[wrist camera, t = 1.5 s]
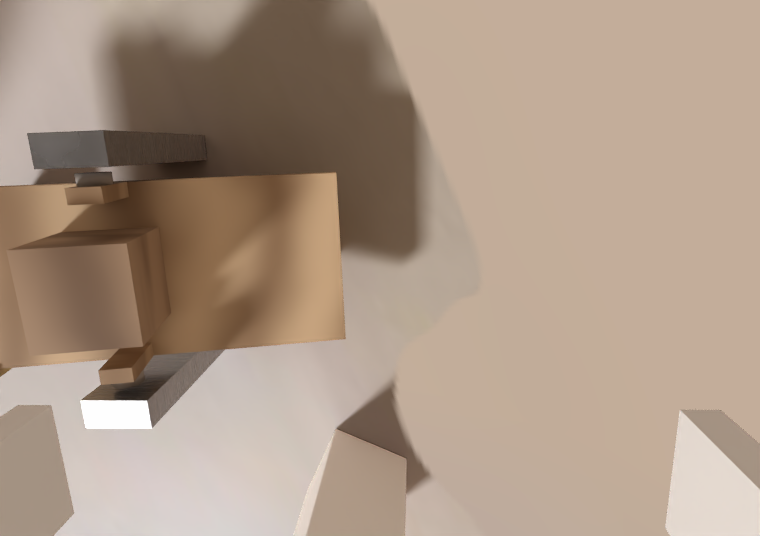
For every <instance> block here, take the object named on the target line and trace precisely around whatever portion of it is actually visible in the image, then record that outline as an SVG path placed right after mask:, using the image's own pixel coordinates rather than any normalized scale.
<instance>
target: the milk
mask: <svg viewBox="0 0 760 536" xmlns="http://www.w3.org/2000/svg"><path fill="white" fill-rule="evenodd" d="M406 470H407V459H406V458H404V457H402V456H399V455H397V454H395V453H392V452H390V451H387V450H385V449H383V448H380V447H378V446H376V445H373V444H371V443H369V442H366V441H364V440H361V439H359V438H357V437H354V436H352V435H350V434H347V433H345V432H342V431H340V430H338V429H336V430H335V432H334V434H333V436H332V438H331V440H330V442H329V444H328V447H327V449H326V451H325V453H324V455H323V457H322V459H321V462H320V464H319V466H318V468H317V470H316V472H315V475H314V477H313V479H312V481H311V483H310V485H309V487H308V490H307V493H306V496H305V500H304V503H303V506H302V509H301V513H300V516H299V519H298V522H297V526H296V529H295V532H294V535H293V536H405V514H406Z"/></svg>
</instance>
